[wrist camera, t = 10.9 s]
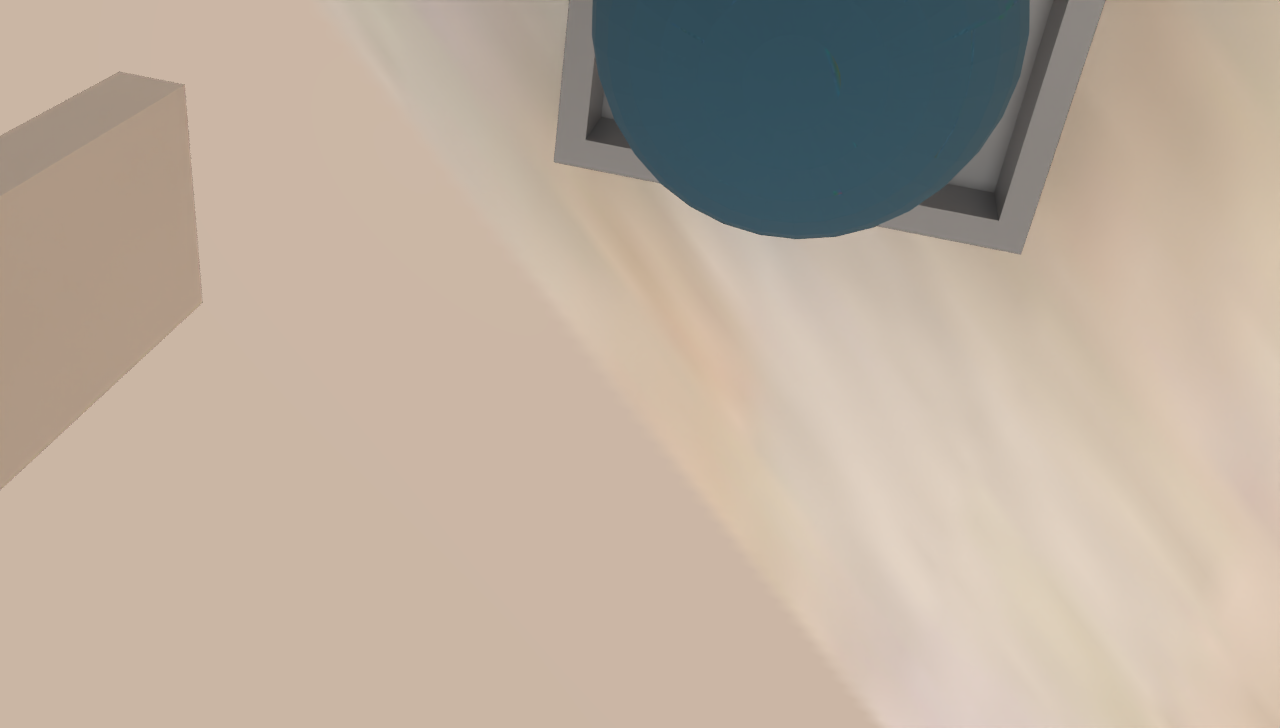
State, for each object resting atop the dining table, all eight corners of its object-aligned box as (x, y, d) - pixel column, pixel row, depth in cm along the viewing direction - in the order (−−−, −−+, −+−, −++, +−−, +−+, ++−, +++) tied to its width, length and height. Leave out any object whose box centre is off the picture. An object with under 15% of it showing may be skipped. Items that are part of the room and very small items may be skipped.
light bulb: (616, 38, 32) (488, 206, 22) (732, -297, 28) (639, -284, 17) (903, 156, 32) (910, 378, 22) (1063, -159, 28) (1165, -65, 18)
